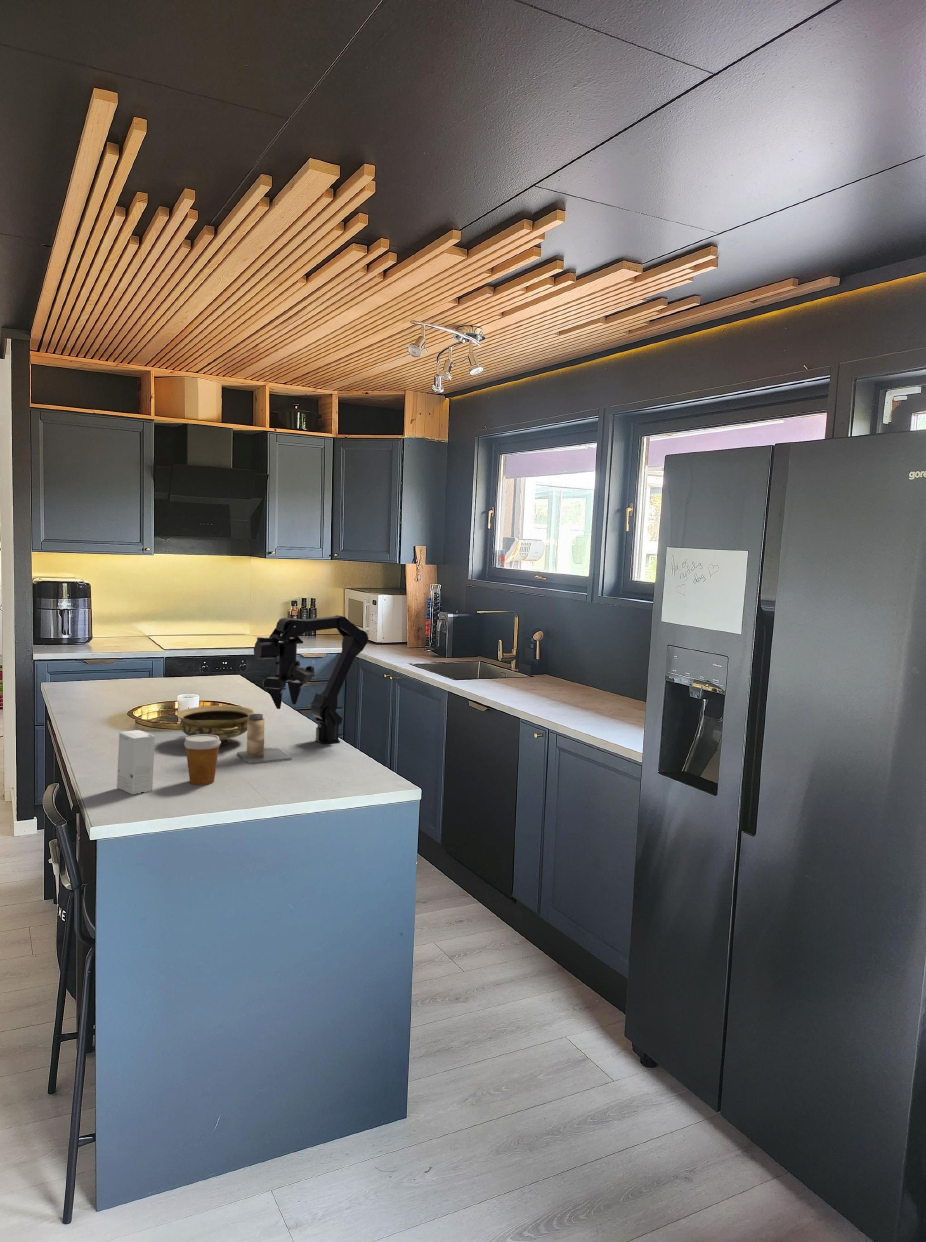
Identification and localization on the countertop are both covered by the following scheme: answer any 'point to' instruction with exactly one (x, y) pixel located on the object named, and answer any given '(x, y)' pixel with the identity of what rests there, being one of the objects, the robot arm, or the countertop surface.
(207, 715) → the gold ornate bowl
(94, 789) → the countertop surface
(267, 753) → the slate tile
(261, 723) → the oak pepper mill
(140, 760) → the skincare box
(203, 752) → the disposable coffee cup
